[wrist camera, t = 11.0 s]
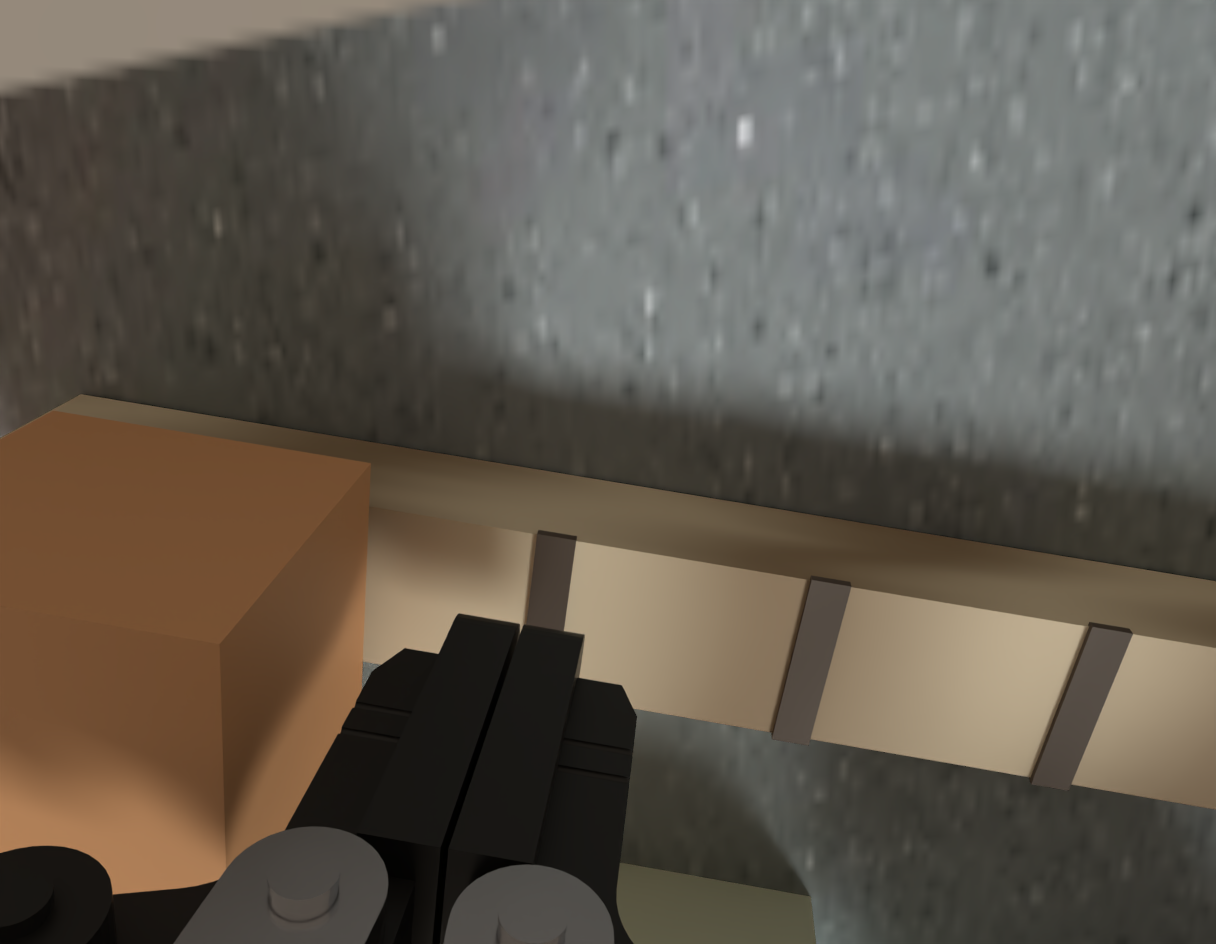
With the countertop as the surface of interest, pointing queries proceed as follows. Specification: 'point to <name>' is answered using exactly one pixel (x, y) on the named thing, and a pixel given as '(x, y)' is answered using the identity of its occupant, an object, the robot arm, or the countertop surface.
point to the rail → (790, 615)
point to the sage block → (708, 910)
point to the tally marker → (171, 640)
